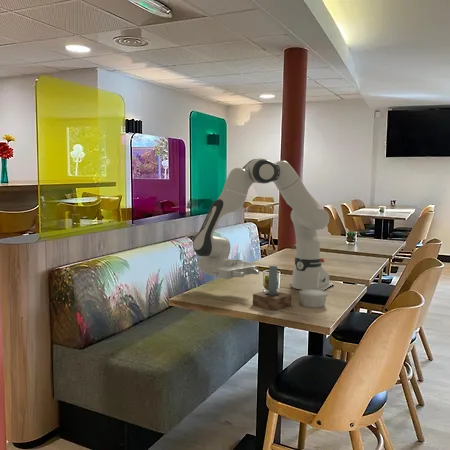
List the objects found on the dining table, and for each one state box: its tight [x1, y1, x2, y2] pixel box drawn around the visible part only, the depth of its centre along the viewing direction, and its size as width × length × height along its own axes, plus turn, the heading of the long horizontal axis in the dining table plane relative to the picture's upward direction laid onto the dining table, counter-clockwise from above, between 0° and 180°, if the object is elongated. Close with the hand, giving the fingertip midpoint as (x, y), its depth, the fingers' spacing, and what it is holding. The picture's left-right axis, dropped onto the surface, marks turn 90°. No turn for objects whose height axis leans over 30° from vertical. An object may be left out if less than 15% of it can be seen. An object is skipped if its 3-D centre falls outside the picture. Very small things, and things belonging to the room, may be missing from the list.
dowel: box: [267, 265, 278, 297], centre depth 186 cm, size 3×3×16 cm
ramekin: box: [298, 289, 328, 309], centre depth 189 cm, size 11×11×5 cm
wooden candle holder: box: [252, 290, 293, 312], centre depth 186 cm, size 11×11×4 cm
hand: (250, 273), depth 194 cm, fingers open, 8 cm apart
